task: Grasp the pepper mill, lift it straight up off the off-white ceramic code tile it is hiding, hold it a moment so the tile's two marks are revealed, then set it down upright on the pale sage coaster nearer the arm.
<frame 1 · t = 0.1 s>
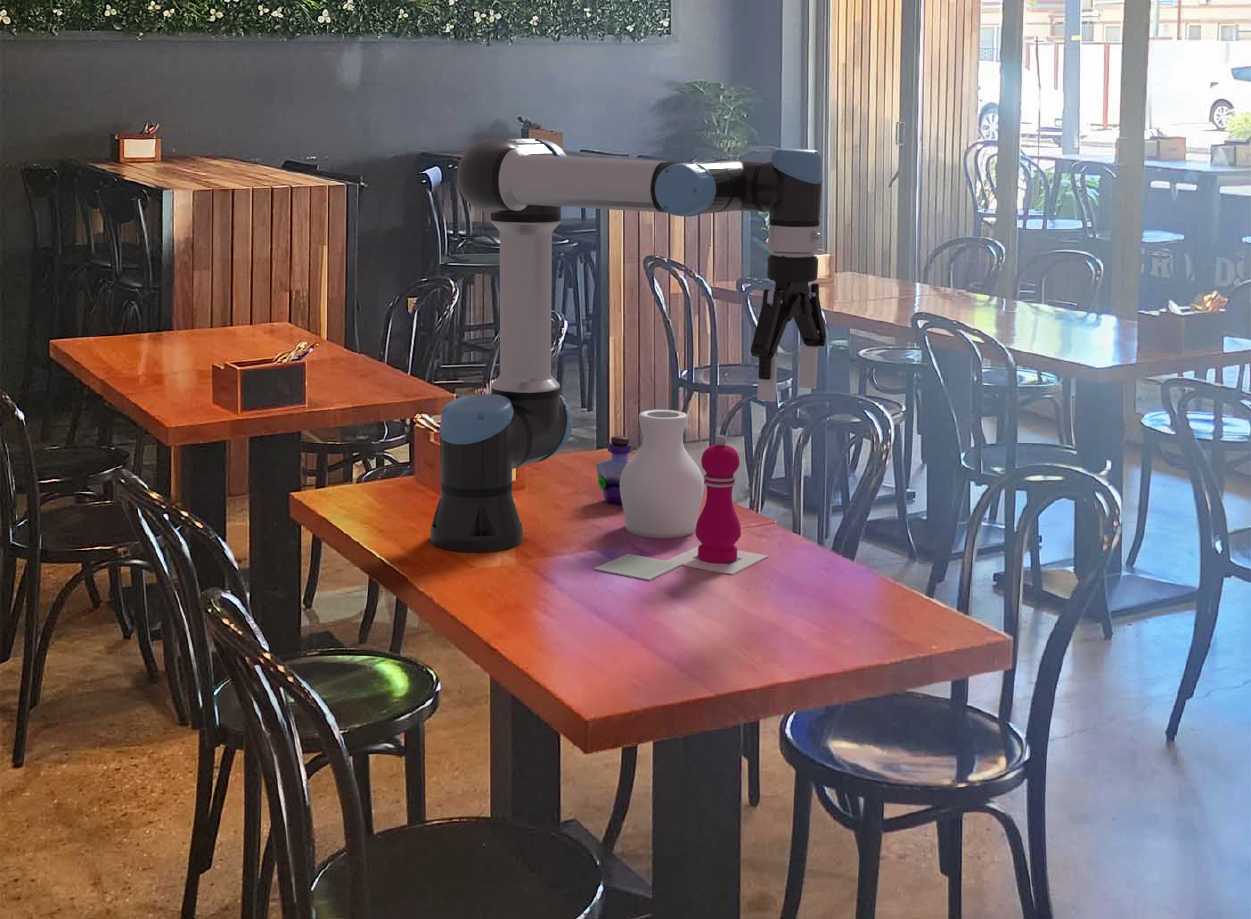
hand: (787, 394, 245), 28 cm above the table, fingers open, 13 cm apart
vase: (660, 529, 275), on the table
code tile: (717, 559, 257), on the table
coaster b: (638, 567, 252), on the table
potion bottle: (619, 502, 292), on the table
pepper mill: (717, 559, 257), resting on code tile
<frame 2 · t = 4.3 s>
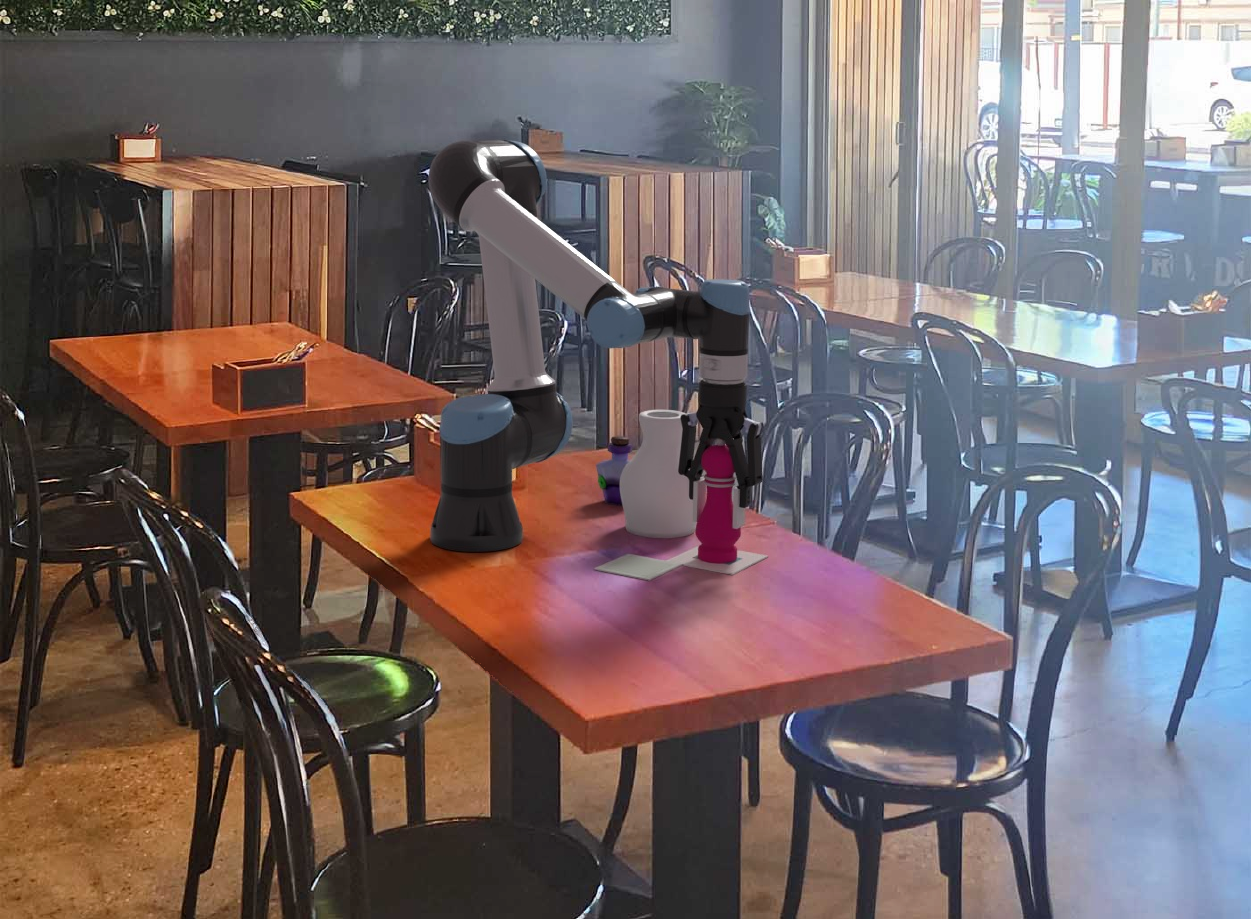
hand: (718, 523, 255), 6 cm above the table, fingers closed on pepper mill, 6 cm apart
pepper mill: (717, 559, 257), resting on code tile, touching gripper
everything else where it was.
when the fingers open (7 cm above the table, at t = 12.4 s): pepper mill drops 1 cm, resting on coaster b.
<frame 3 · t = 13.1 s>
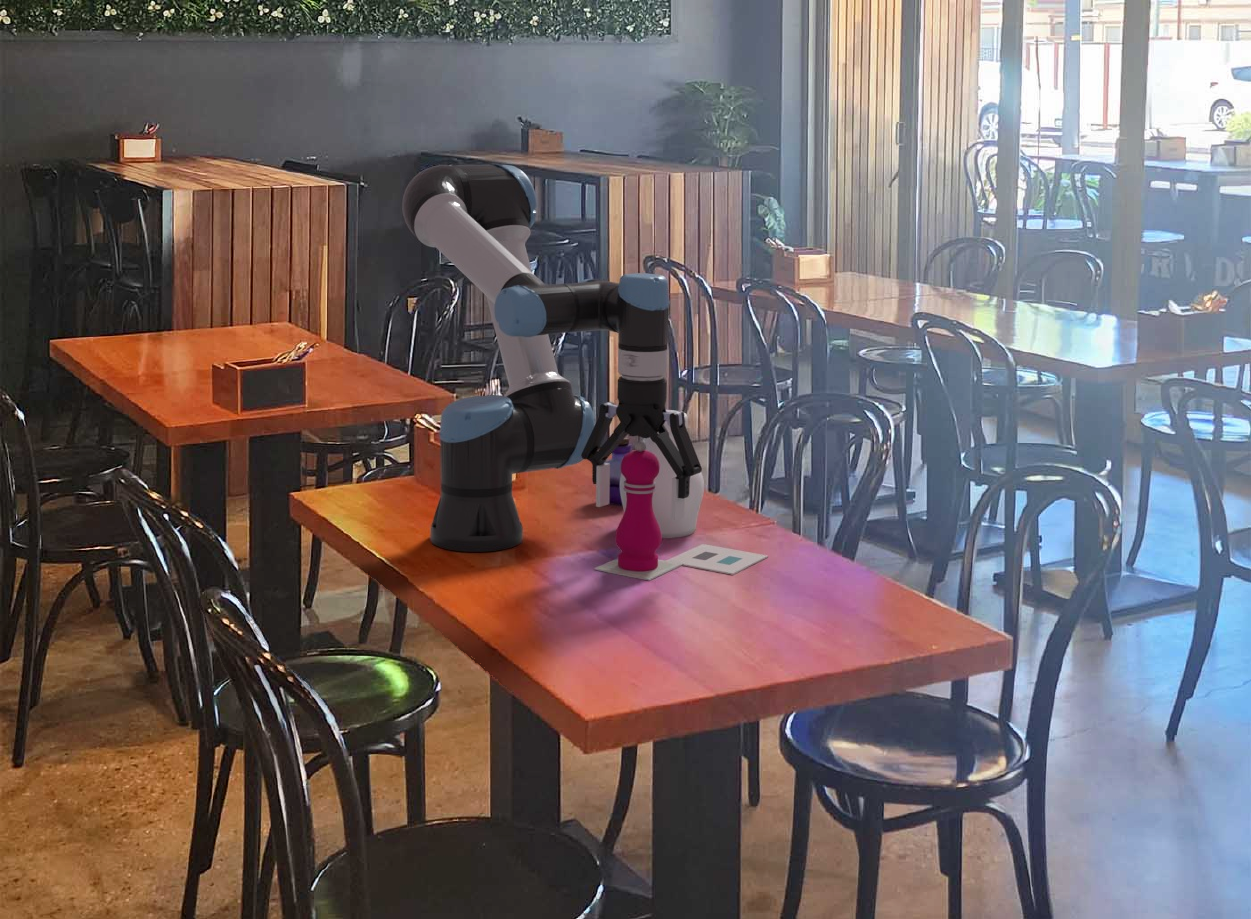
hand: (639, 511, 250), 9 cm above the table, fingers open, 13 cm apart
pepper mill: (637, 567, 252), resting on coaster b
everything else where it was.
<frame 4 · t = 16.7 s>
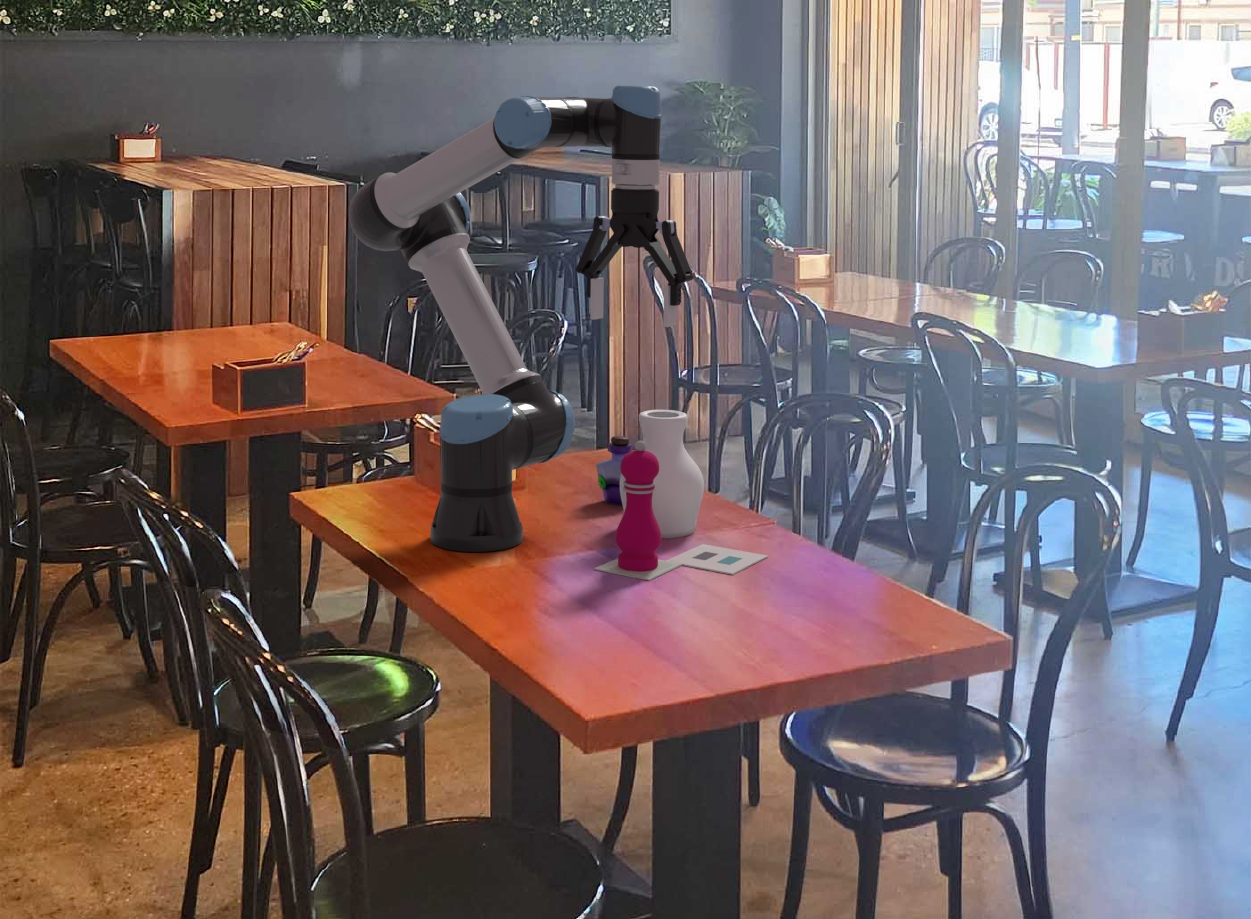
hand: (632, 322, 256), 37 cm above the table, fingers open, 13 cm apart
nothing on the table moved.
at the end: pepper mill inside the target area on the coaster b (0.1 cm from its centre), point 0.1 cm above the coaster b's base; pepper mill tilted 0°; pepper mill touching coaster b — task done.
